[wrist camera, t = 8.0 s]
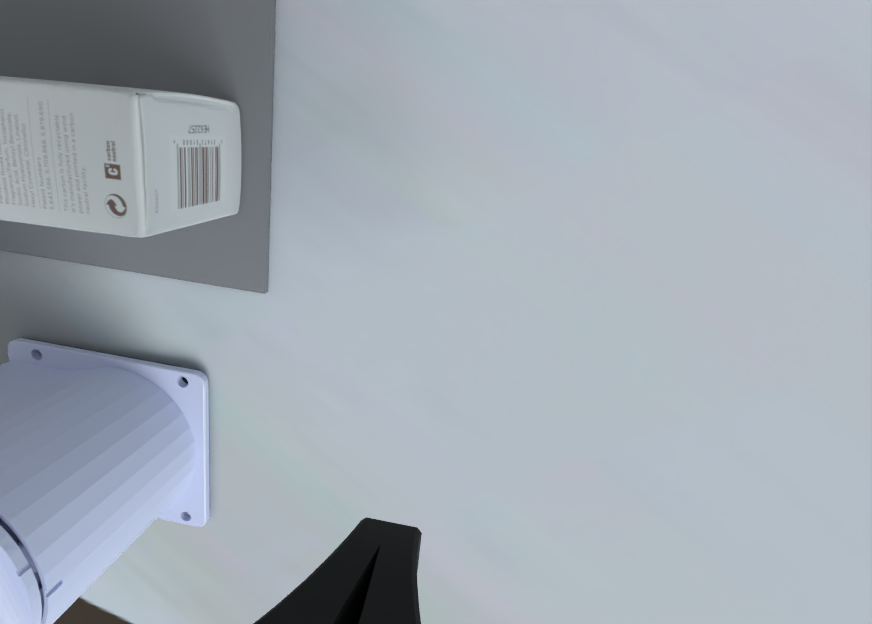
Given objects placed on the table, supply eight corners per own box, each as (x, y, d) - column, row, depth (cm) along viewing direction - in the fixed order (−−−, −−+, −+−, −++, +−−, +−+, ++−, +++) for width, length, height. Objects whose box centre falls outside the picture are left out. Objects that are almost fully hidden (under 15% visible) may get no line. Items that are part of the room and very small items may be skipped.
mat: (-85, 234, 25) (-92, 234, 24) (-161, -211, 20) (-172, -216, 19) (267, 291, 23) (264, 293, 22) (280, -184, 18) (276, -189, 18)
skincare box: (141, 85, 15) (-254, 37, 16) (148, 250, 16) (-218, 196, 17) (247, 102, 21) (-48, 67, 22) (245, 223, 22) (-32, 183, 23)
